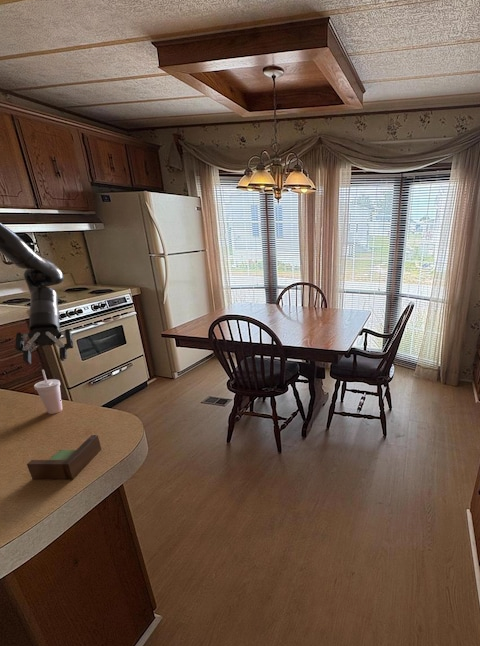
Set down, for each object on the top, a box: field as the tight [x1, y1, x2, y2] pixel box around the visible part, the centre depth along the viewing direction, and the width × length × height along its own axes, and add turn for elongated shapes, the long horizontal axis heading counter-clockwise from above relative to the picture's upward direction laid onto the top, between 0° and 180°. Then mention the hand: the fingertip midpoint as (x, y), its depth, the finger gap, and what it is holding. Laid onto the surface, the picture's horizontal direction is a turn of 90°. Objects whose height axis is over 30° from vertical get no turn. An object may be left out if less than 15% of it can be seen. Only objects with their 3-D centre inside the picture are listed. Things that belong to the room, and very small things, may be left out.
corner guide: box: [26, 434, 102, 481], centre depth 85 cm, size 10×12×4 cm
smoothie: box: [33, 369, 63, 415], centre depth 106 cm, size 6×6×14 cm
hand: (45, 361), depth 106 cm, fingers open, 8 cm apart
